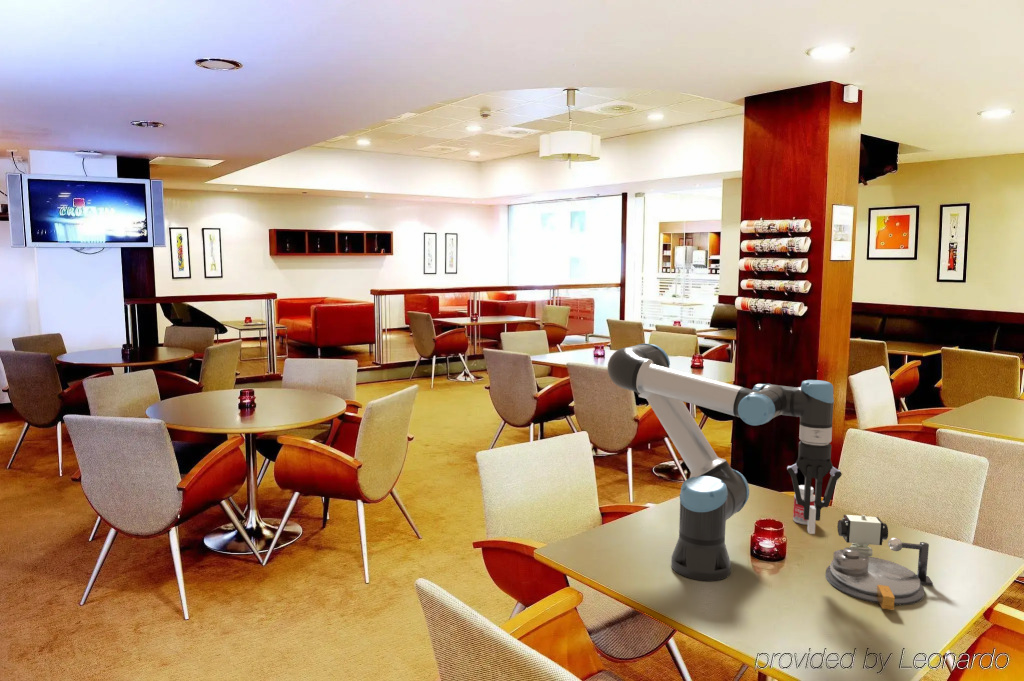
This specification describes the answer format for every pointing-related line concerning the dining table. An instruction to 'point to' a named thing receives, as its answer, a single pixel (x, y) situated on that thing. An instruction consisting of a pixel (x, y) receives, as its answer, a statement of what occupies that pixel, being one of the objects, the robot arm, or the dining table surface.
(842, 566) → the cover
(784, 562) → the dining table surface
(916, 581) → the turntable
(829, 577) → the turntable base
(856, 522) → the pneumatic valve
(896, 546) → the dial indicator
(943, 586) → the dining table surface
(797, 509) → the pill bottle
